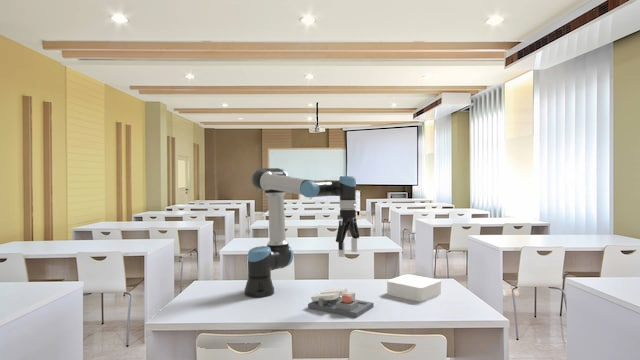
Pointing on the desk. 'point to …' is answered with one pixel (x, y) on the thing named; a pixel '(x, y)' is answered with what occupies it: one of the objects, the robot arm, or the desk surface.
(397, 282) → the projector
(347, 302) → the button
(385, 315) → the desk surface
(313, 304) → the panel
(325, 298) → the block
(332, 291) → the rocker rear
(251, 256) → the robot arm
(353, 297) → the block
